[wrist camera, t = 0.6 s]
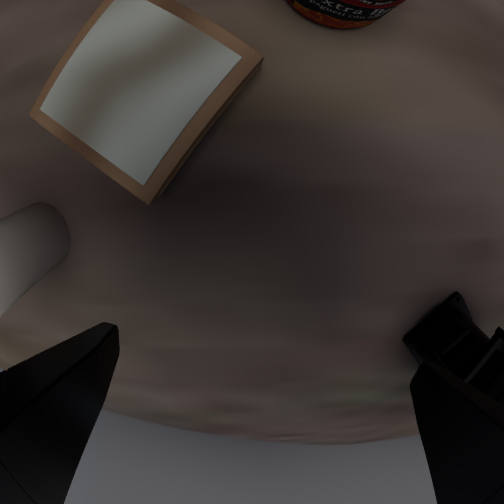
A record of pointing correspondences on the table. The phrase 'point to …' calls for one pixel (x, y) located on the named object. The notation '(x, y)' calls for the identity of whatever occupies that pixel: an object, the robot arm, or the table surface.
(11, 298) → the tumbler
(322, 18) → the canned food
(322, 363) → the table surface
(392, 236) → the table surface
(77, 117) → the plinth
